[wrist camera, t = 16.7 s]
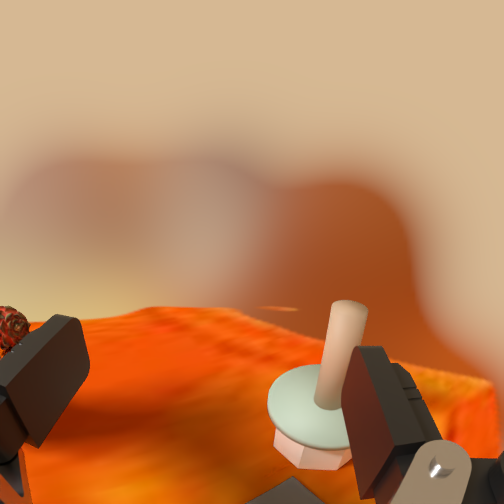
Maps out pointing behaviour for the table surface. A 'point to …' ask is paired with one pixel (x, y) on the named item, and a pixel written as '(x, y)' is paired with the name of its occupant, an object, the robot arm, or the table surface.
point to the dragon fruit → (12, 327)
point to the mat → (287, 494)
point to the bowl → (310, 455)
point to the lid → (319, 386)
